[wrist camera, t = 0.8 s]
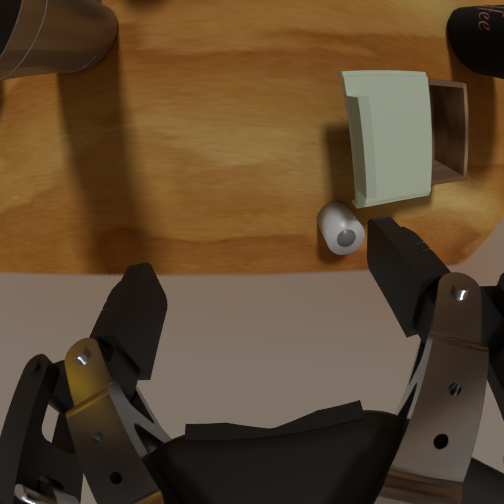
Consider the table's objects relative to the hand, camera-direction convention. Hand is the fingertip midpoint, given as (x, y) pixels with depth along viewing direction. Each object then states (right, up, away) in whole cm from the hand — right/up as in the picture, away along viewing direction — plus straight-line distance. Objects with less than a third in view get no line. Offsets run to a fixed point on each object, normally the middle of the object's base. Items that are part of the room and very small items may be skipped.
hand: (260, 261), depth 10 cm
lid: (+13, +12, +13) cm, 22 cm away
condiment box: (+20, +17, +18) cm, 32 cm away
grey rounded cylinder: (+11, +5, +26) cm, 28 cm away
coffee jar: (+30, +30, +10) cm, 44 cm away
